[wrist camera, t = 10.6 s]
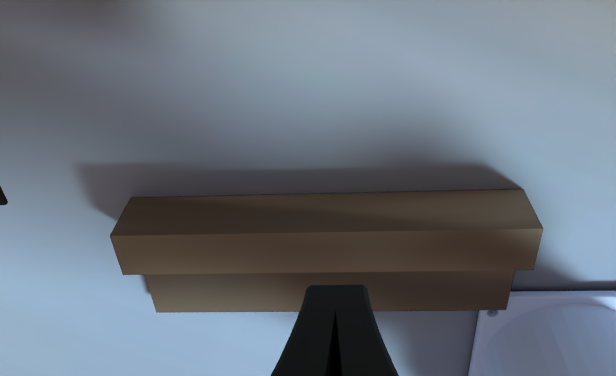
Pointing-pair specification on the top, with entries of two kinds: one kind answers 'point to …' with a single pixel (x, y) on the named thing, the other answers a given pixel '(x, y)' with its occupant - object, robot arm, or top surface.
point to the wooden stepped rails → (329, 248)
